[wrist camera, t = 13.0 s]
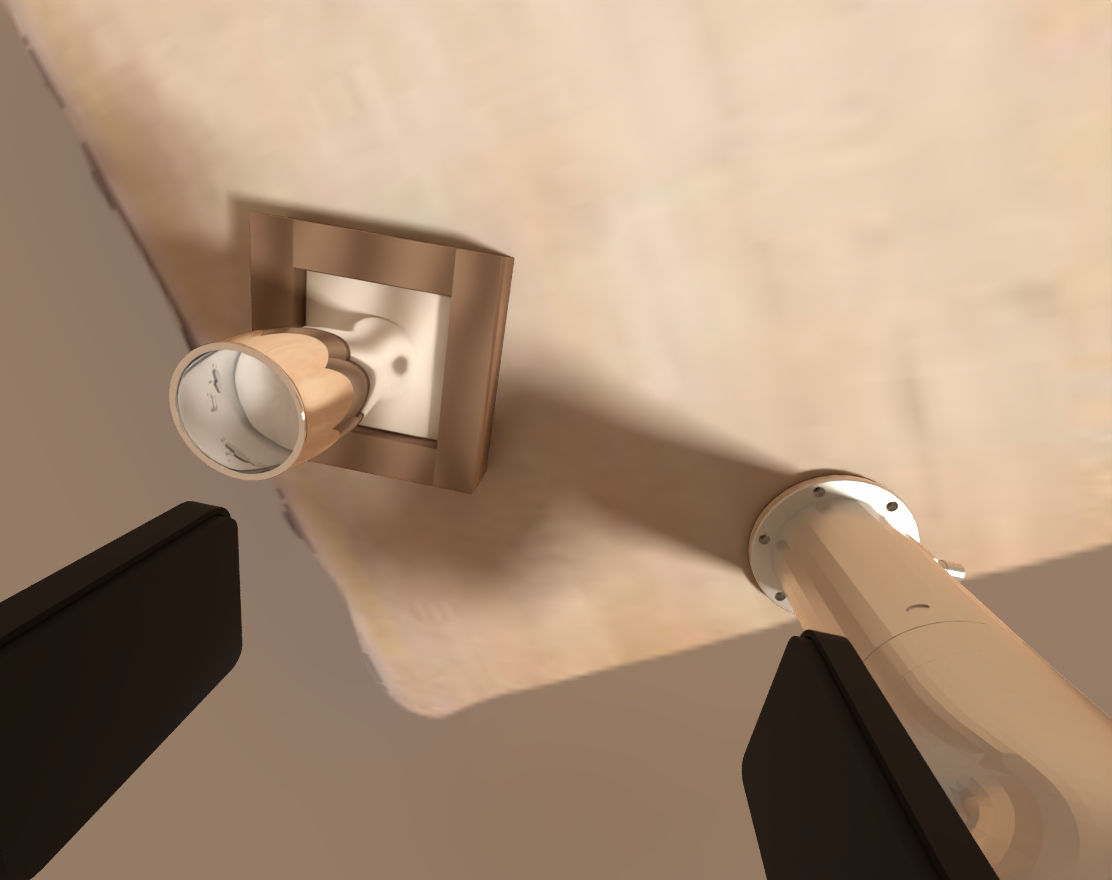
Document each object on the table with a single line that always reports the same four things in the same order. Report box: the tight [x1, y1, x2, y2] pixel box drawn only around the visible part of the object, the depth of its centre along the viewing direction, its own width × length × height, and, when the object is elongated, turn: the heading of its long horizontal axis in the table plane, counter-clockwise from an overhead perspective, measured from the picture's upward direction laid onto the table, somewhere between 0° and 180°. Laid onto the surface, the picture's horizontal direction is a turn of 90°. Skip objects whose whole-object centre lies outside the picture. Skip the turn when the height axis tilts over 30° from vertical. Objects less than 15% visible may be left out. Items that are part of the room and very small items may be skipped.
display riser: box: [249, 212, 514, 494], centre depth 39 cm, size 17×17×4 cm
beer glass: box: [169, 317, 417, 481], centre depth 31 cm, size 7×7×15 cm
